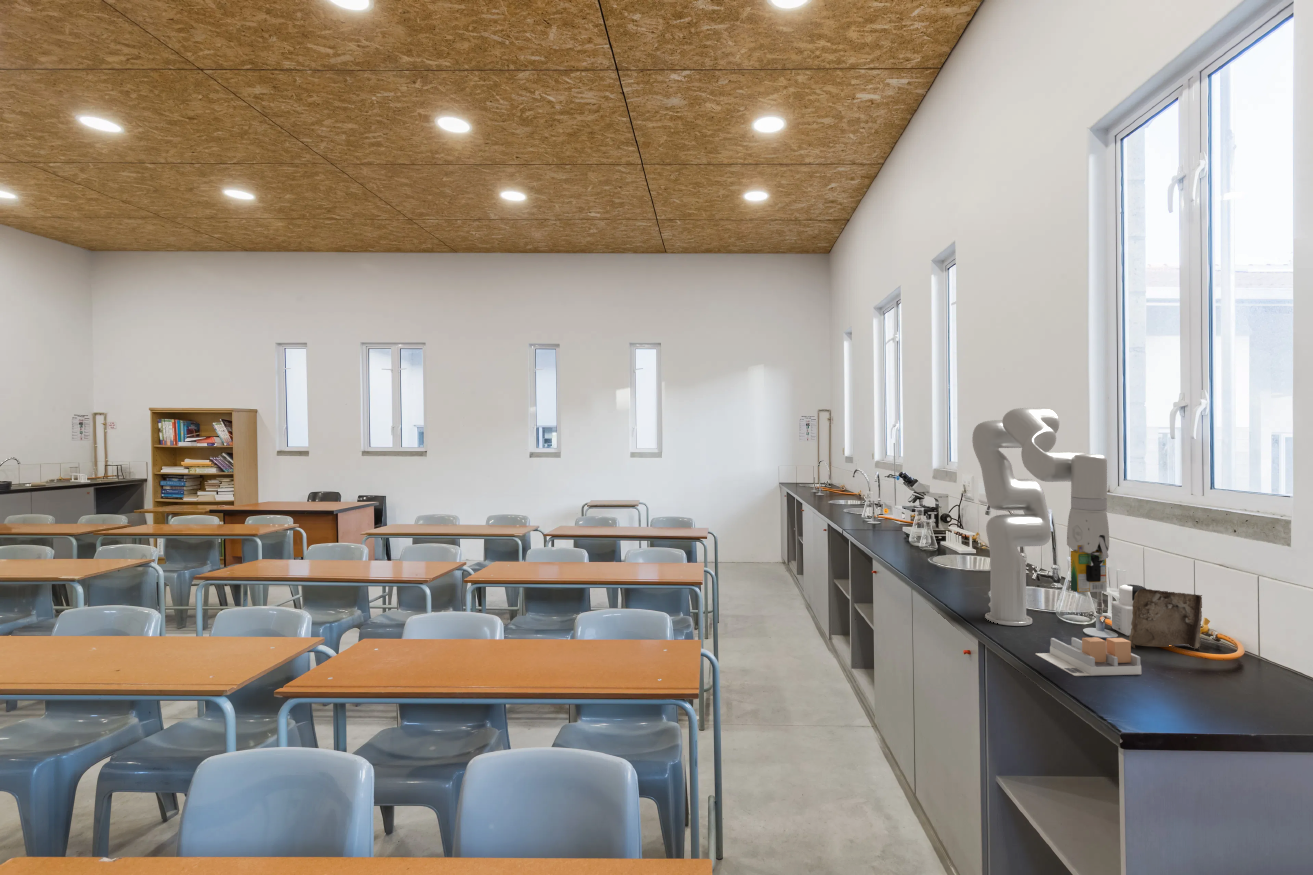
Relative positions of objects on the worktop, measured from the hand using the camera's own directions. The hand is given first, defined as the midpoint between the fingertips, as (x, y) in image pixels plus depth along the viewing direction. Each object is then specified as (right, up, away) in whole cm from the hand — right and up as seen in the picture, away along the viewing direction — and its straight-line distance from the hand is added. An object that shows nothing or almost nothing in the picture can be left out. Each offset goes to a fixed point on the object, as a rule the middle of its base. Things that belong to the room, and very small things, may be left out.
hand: (1088, 578), depth 173 cm
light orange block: (+3, -18, -6) cm, 19 cm away
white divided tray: (-2, -20, -2) cm, 20 cm away
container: (+27, -20, +24) cm, 42 cm away
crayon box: (0, -3, 0) cm, 3 cm away
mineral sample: (+26, -20, +10) cm, 34 cm away
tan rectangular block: (-2, -18, -6) cm, 19 cm away
